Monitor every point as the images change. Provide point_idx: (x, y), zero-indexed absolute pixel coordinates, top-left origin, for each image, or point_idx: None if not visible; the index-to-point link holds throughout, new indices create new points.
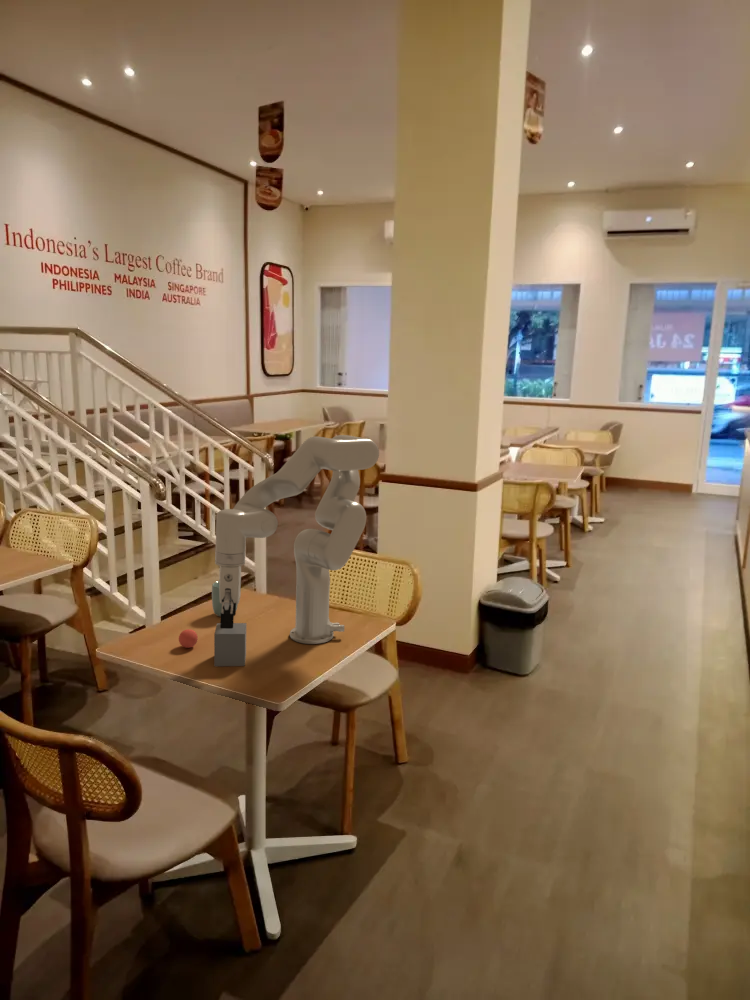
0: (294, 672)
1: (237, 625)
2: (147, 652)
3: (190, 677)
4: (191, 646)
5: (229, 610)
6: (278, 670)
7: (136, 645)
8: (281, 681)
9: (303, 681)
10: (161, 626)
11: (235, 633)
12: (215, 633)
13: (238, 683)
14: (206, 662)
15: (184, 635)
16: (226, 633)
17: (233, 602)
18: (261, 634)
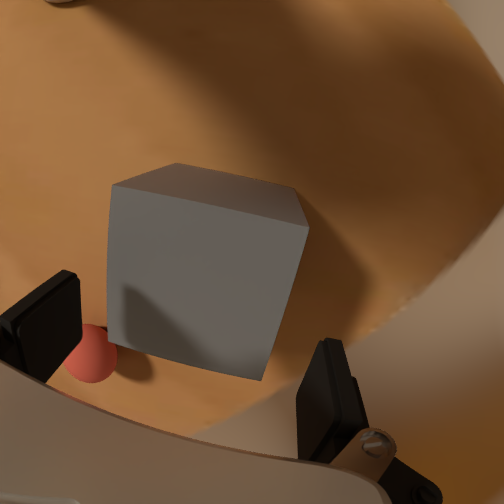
0: (397, 30)
1: (146, 248)
2: (136, 416)
3: None
4: None
5: (424, 481)
6: (369, 73)
7: None
8: (452, 99)
9: (463, 38)
10: None
11: (285, 284)
12: (252, 375)
13: (423, 240)
14: None
15: (100, 378)
16: (268, 330)
17: (22, 337)
18: (28, 97)
